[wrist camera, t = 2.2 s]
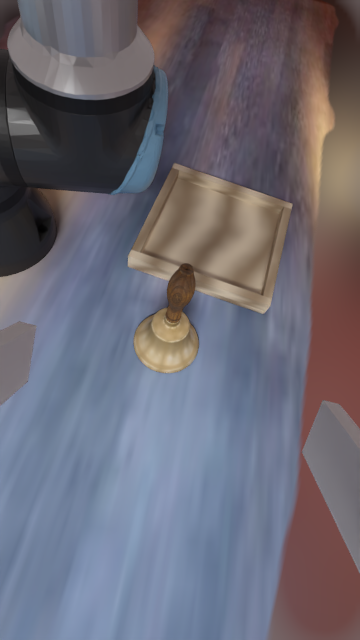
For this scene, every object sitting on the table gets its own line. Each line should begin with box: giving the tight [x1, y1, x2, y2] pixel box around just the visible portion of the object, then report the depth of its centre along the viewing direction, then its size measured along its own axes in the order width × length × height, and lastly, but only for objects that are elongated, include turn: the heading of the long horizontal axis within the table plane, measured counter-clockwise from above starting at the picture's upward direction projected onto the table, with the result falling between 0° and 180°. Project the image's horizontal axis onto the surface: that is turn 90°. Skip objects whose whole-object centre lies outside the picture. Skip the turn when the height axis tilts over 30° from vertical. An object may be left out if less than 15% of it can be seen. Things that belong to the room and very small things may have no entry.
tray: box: [128, 163, 292, 314], centre depth 51 cm, size 20×20×2 cm
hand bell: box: [134, 263, 199, 373], centre depth 37 cm, size 8×8×16 cm
